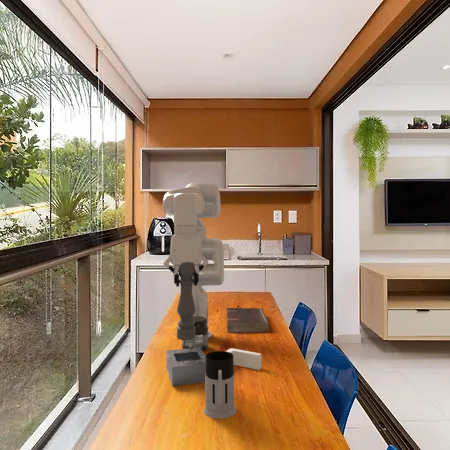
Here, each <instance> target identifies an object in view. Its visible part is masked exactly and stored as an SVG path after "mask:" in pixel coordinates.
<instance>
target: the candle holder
mask: <svg viewBox="0 0 450 450" xmlns="http://www.w3.org/2000/svg"><path fill="white" fill-rule="evenodd" d="M194 272H195V265H194V264H193V263H181V265H180V267H179V270H178V274H179V286H180V295H179V299H178V304H177V309H176V310H177V314H178V316H179V318H180V319H179V321H178V322H177V325H178V326H176V339H177V340H181V341H182V340H192V339H194V338H195V326H194V325H195V322H194V321H193V319H192V318H193V315H194V313H195V304H194V299H193V295H192V284H193V283H194V280H193V279H192V277H193V275H194Z"/></svg>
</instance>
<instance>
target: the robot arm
mask: <svg viewBox="0 0 450 450" xmlns="http://www.w3.org/2000/svg"><path fill="white" fill-rule="evenodd" d="M221 206H222V205H221V193H220V189H219V186H218V185H217V184H216V183H215V182H191V183H189V184H187V185H186V186H185V187H182V188H177V189H173V190H169V191H167V192H166V193H165V194H164V195H163V200H162V208H163V211H164V213H165V214H166V215H167V216H173V225H174V226H173V229H174V230H173V231H174V233H173V234H172V235H171V238H170V245H169V247H170V248H169V256H168V257H167V258H166V259H165V260H164V262H163V266H164V267H166V268H167V269H168V270H169V271H170V272H171V273H172V274H173V284H174V285H175V286H176V287H177V288H178V287H180V283H179V280H180V275H179V272H178V270H179V267H180V265H181V263H193V264H194V265H195V272H194V275H193V277H192V279H193V280H194V283H193V284H192V295H193V299H194V304H195V313H194V315H193V316H201V317H205V318H207V324H206V325H207V326H208V327H209V296H208V292H207V291H206V290H205V289H204V287H205V286H207V287H208V286H210V287H211V286H221V285H223V283H224V281H225V251H224V250H225V248H224V244H223V241H222V240H221V239H219V238H207V226H206V225H205V223H204V222H203V221H202V219H203V218H204V219H205V218H206V219H207V218H209V219H210V218H212V219H213V218H214V219H215V218H217V217H219V216H220V214H221V210H222V207H221ZM201 218H202V219H201ZM209 261H212V262H213V263H209ZM170 263H171V264H172V265H171V264H170ZM173 265H174V266H173ZM212 336H213V333H212V331H210V330H208V339H210V338H211V337H212Z"/></svg>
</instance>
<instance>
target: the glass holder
mask: <svg viewBox="0 0 450 450" xmlns="http://www.w3.org/2000/svg"><path fill="white" fill-rule="evenodd" d="M226 351H227V350H216V351H215V350H214V351H210V352H208V353H206V354H205V357H206V371H205V383H204V393H205V394H204V395H205V396H204V397H205V398H204V399H205V400H204V401H205V402H204V403H205V404H204V409H203V413H204V415H205V416H207V417H208V418H212V419H217V420H221V419H227V418H231V417H233V416H234V415H235V414H236V413H237V409H236V406H235V370H234V365H233V354H232V353H230V352H226Z"/></svg>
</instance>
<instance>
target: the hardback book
mask: <svg viewBox="0 0 450 450" xmlns="http://www.w3.org/2000/svg"><path fill="white" fill-rule="evenodd" d="M263 309H264V308H262V307H261V308H259V307H258V308H257V307H256V308H255V307H254V308H253V307H252V308H251V307H247V308H246V307H245V308H244V307H227V308H226V329H227V331H226V332H227V333H233V334H234V333H238V334H239V332H240V333H270V324H269V323H270V322H268V319H267V316H266V314H265V311H264V310H263Z"/></svg>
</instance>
